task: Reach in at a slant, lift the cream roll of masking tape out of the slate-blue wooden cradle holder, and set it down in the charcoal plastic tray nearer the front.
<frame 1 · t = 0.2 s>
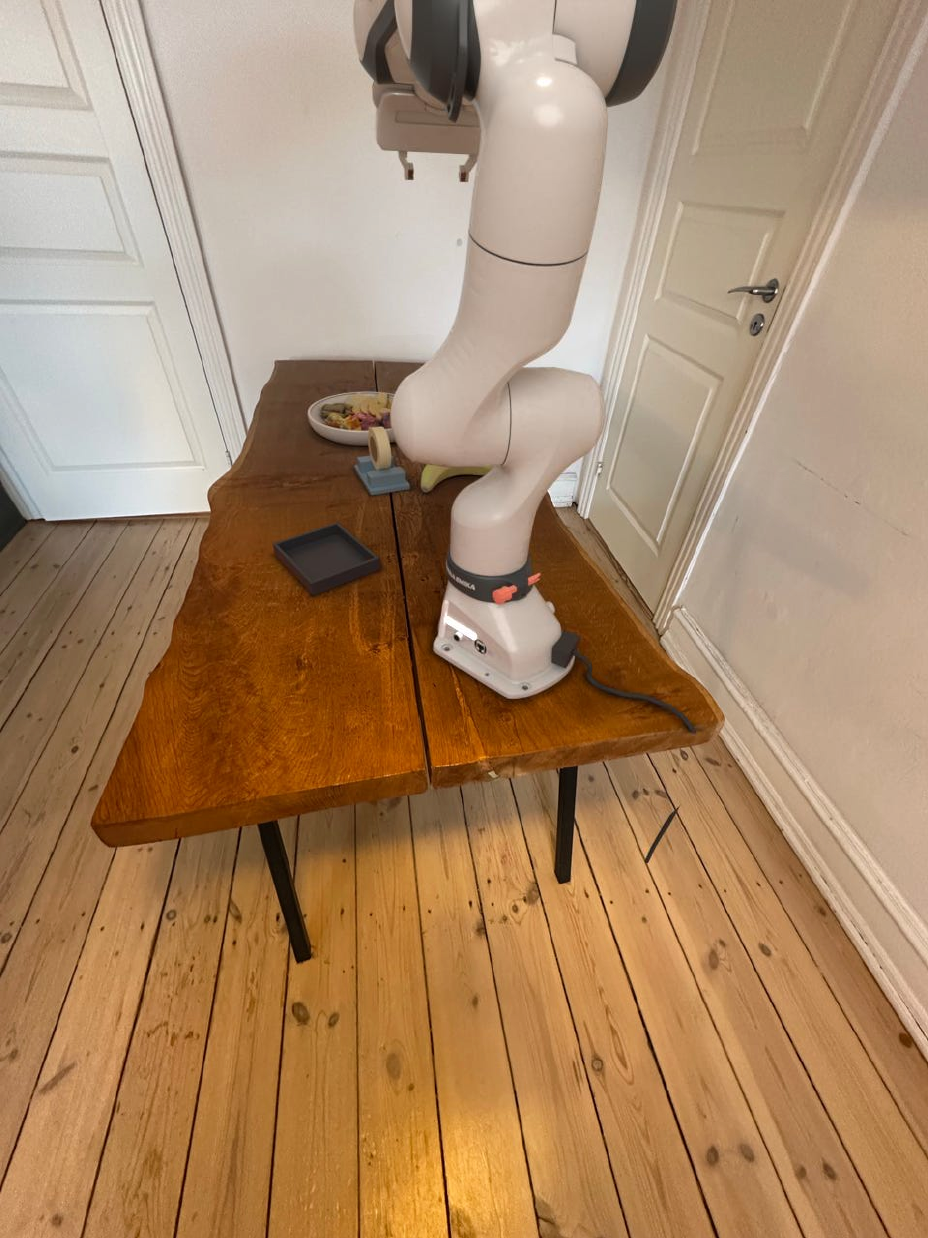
hand: (436, 178, 94), 54 cm above the table, tool tilted 30°, fingers open, 8 cm apart
bowl: (367, 429, 149), on the table
holder: (381, 478, 126), on the table
tray: (327, 562, 100), on the table
banana: (464, 482, 126), on the table
tape: (379, 448, 121), point 7 cm above the table, touching holder
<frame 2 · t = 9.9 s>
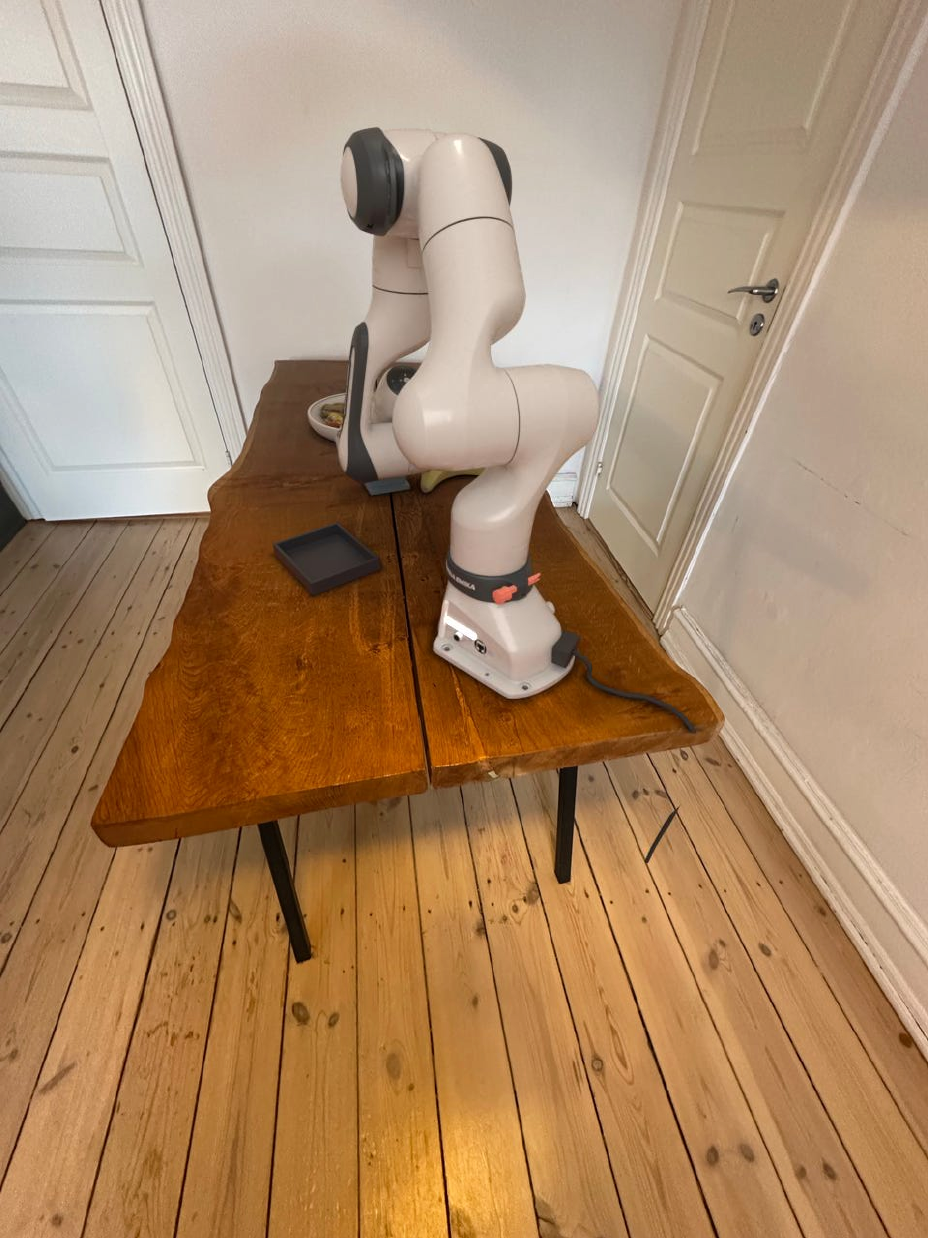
hand: (378, 450, 122), 7 cm above the table, tool tilted 45°, fingers closed on tape, 3 cm apart
tape: (379, 448, 121), point 7 cm above the table, touching gripper, holder
everything else where it was.
when the fingers open (4 cm above the table, at t = 21.6 s): tape moves 3 cm and tips over, resting on tray.
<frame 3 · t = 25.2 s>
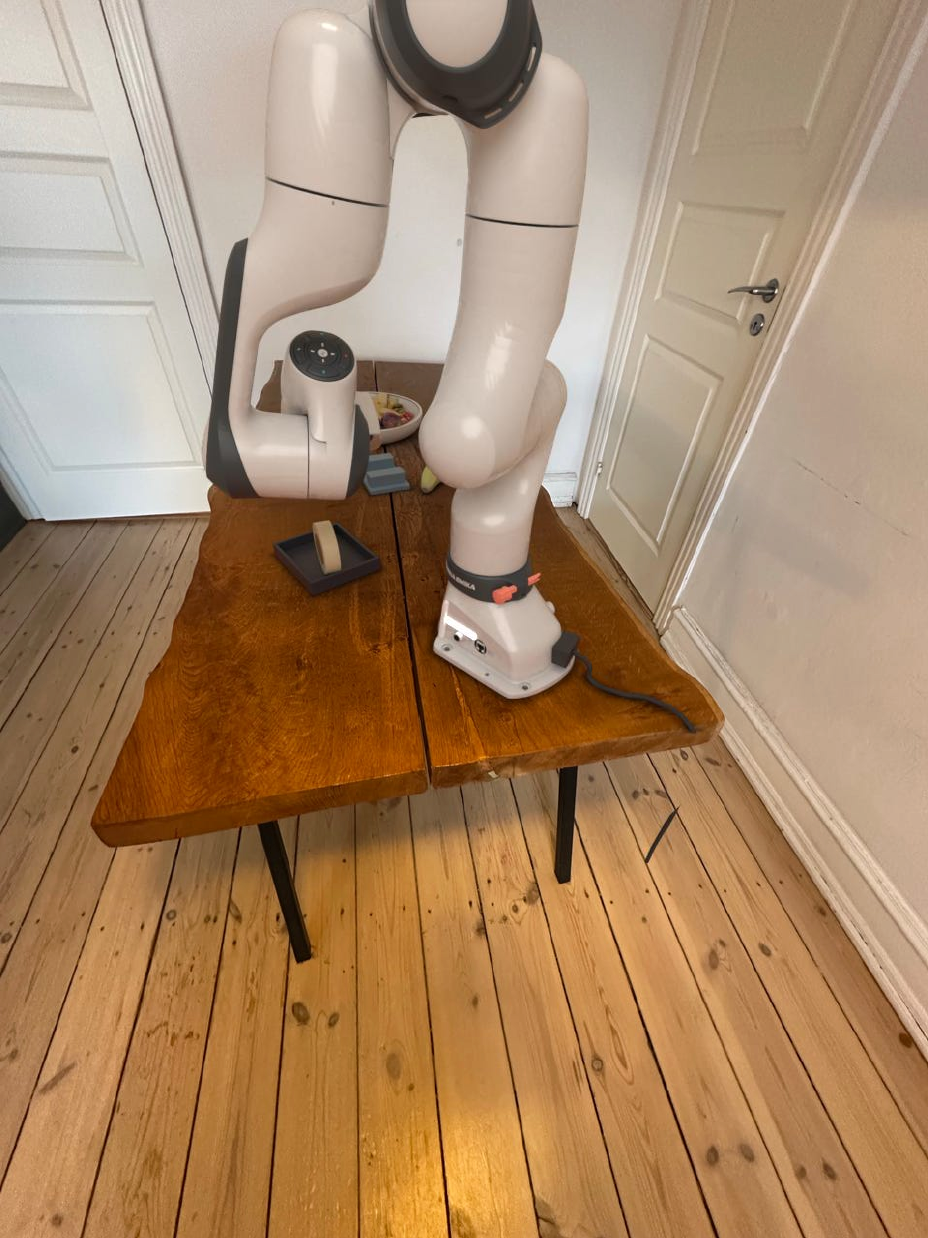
hand: (310, 460, 88), 19 cm above the table, tool tilted 45°, fingers open, 8 cm apart
tape: (326, 547, 94), point 5 cm above the table, tilted 42°, touching tray
everything else where it was.
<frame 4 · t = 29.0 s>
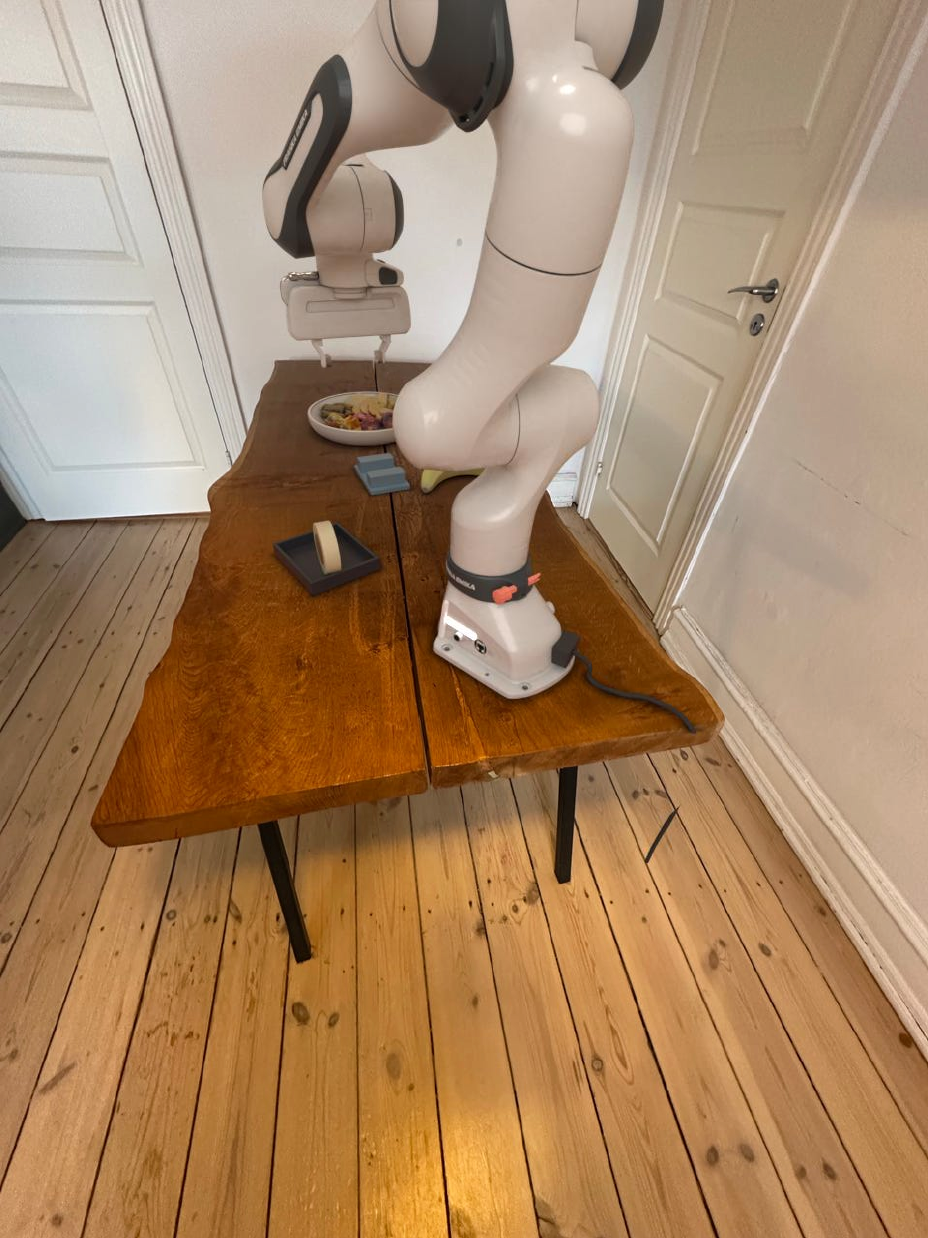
hand: (353, 364, 95), 29 cm above the table, tool pointing down, fingers open, 8 cm apart
nothing on the table moved.
at the end: tape inside the target area on the tray (3.1 cm from its centre), point 5.0 cm above the tray's base; the gripper is holding nothing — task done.
